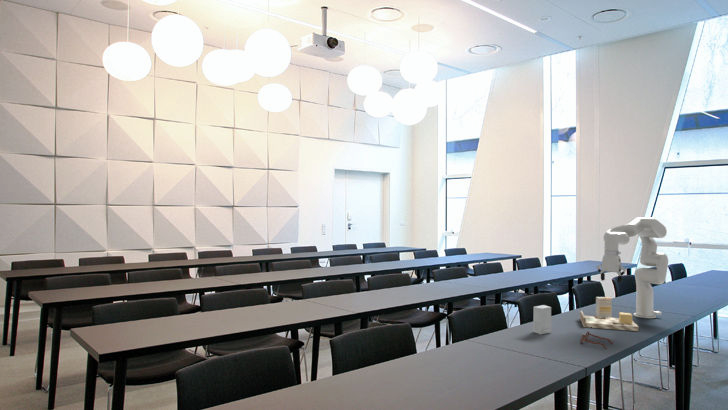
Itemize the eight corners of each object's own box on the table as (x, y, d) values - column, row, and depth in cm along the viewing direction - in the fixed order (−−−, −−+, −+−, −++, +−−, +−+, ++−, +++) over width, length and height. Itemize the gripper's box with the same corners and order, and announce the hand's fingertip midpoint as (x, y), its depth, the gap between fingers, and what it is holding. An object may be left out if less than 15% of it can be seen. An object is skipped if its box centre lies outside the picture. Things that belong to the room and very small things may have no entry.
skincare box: (543, 330, 279) (543, 304, 279) (551, 333, 274) (551, 306, 274) (532, 332, 276) (532, 305, 276) (540, 334, 270) (540, 308, 270)
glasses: (586, 339, 262) (586, 330, 262) (613, 344, 254) (613, 334, 254) (579, 345, 252) (579, 335, 252) (607, 350, 244) (607, 340, 244)
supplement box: (608, 317, 314) (608, 296, 314) (611, 318, 309) (612, 298, 309) (595, 316, 315) (595, 296, 315) (598, 318, 310) (598, 297, 310)
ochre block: (630, 321, 292) (630, 313, 292) (632, 323, 286) (632, 315, 286) (619, 320, 294) (619, 312, 294) (620, 322, 288) (621, 314, 288)
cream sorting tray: (631, 323, 298) (631, 314, 298) (638, 331, 279) (638, 321, 279) (579, 319, 307) (580, 310, 307) (583, 326, 288) (583, 317, 288)
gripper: (629, 253, 291) (628, 282, 291) (599, 251, 304) (599, 279, 304) (623, 254, 286) (623, 283, 286) (594, 252, 299) (593, 280, 299)
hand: (611, 281), depth 295 cm, fingers open, 9 cm apart
